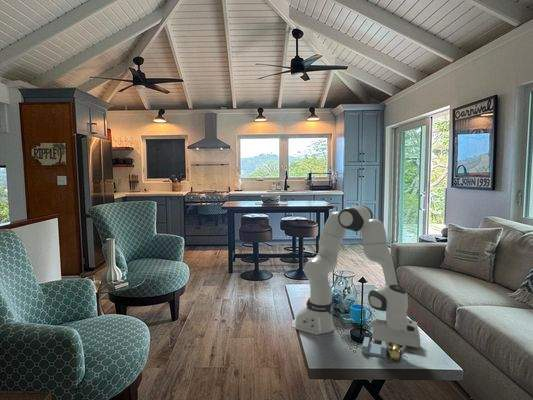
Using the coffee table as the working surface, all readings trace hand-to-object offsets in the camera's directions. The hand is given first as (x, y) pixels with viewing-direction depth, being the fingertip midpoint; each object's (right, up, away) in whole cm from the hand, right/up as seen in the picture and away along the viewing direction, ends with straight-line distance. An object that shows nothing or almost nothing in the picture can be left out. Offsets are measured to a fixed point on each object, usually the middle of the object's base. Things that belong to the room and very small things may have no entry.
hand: (395, 351), depth 155 cm
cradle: (-8, -2, +5) cm, 9 cm away
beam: (+5, -1, +11) cm, 12 cm away
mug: (-5, +1, +36) cm, 36 cm away
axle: (+1, -2, +1) cm, 2 cm away
